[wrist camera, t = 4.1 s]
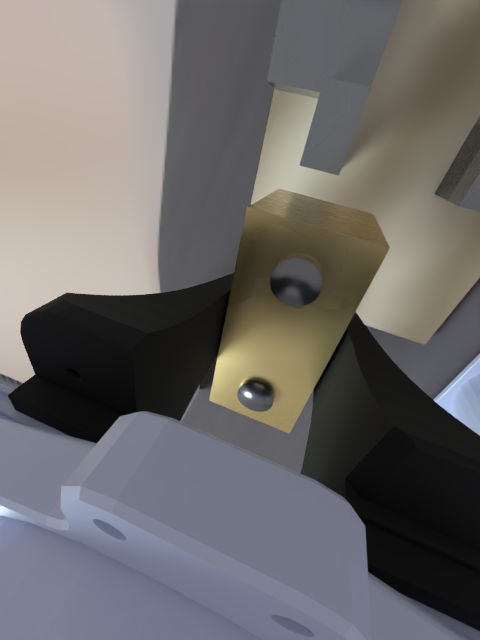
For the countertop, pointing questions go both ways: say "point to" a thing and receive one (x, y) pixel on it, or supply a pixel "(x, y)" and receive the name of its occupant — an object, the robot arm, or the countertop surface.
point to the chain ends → (349, 82)
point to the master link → (291, 301)
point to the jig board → (400, 164)
